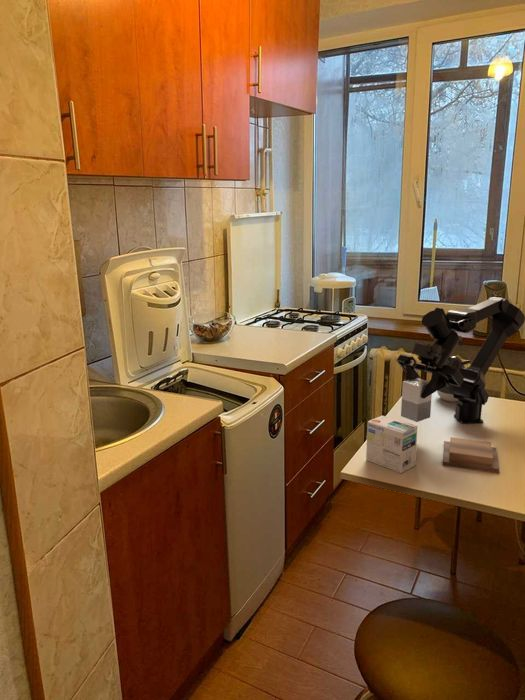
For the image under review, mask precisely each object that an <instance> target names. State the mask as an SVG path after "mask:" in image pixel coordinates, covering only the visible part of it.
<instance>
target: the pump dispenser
mask: <svg viewBox="0 0 525 700" xmlns="http://www.w3.org/2000/svg"><path fill="white" fill-rule="evenodd" d="M450 358H451V361H450V362H446V364H445V365H449V366H453V367H457V369H458V370H459V369H461V368H465V369H467V367H466V366H465V365H469V364H471V363H472V360H471V359H466V360H462V358H461V357H459V356H457V355H450ZM449 384H450V382H449ZM436 392H437V395H438V396H439V398H441V400H444V401H445V402H448V401H449V403H458V399H456V398H453V392H452V385H451V384H450V386H445V387H443V388H441V389H439V390H438V391H436Z"/></svg>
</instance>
